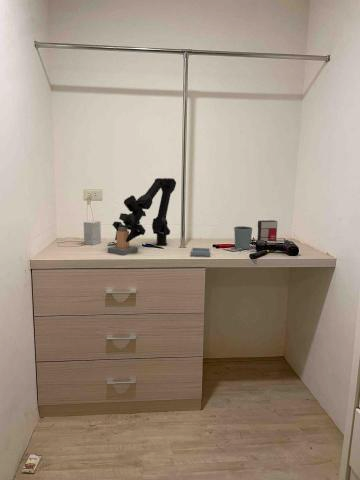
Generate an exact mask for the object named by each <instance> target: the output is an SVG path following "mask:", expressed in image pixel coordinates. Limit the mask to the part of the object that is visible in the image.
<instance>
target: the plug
mask: <svg viewBox="0 0 360 480" xmlns="http://www.w3.org/2000/svg"><path fill="white" fill-rule="evenodd" d="M129 234H130V230H128V229H127V227H118V231H117V241H116V246H117V248H119V249H125V248H129V246H130V241H129V242H126V239H127V237H128V236H129Z"/></svg>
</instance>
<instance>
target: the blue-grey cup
mask: <svg viewBox="0 0 360 480" xmlns="http://www.w3.org/2000/svg"><path fill="white" fill-rule="evenodd" d="M233 231H234V248H235V247H236V248H242V249H248V250H250V249H251V243H252V234H253V227H251V226H243V225H240V226H239V225H238V226H235V227H234V228H233ZM236 248H235V249H236Z"/></svg>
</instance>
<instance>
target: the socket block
mask: <svg viewBox="0 0 360 480" xmlns="http://www.w3.org/2000/svg"><path fill="white" fill-rule="evenodd" d="M107 253H109V254H112V255H113V254H114V255H118V256H128V255H130V254H136V253H139V247H138V246H133V245H129V248H125V249H119V248H117V245H115V246H114V245H113V246H108V247H107Z"/></svg>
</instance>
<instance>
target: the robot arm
mask: <svg viewBox="0 0 360 480" xmlns="http://www.w3.org/2000/svg"><path fill="white" fill-rule="evenodd" d="M176 186H177V181H176V180H175V179H174V178H170V177H164V178H162V177H157V178H155V179H154V182H153V183H152V185H151V186H150V187H149V189H148V190H147V191H146V193H144V194H143V195H141V196H139V197H138V198H137V199H136V196H135V195H133V194H132V195H130V196H128V197H127V198H125V199H124V201H123V204H124V206H125V207H126V208H127V210H128V212H130V213H129V214H128V213H123V212H122V213H120V214H119V218H118V220H120V221H114V222H113V223H112V227H113V228H114V229H115V231H116V232H115V238H114V240H115V241H116V242H117V231H118V227H127V231H129V236H128V237H127V239H126V242H129V243H130V241H132V240H133V239H135V238H136V237H140V236H144V235H145V234H146V229H145V228H144V226H143V224H141V219H142V218H143V217H147V214H146V211H144V210H149V209H151V206H152V205H153V200H154V198H155V197H156V195H157V194H158V192H159V191H160V190H161V196H160V203H159V207H158V212H157V216H155V217H156V218H155V217H154V218H153V219H152V223H151V228H152V232H153V234H154V235H155V234H156V243H155V246H167V245H168V242H167V236H169V235H170V234H171V230H170V228H169V227H168V219H167V214H168V208H169V205H170V200H171V199H170V198H171V194H172V193H173V192H174V191H175V189H176Z"/></svg>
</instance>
